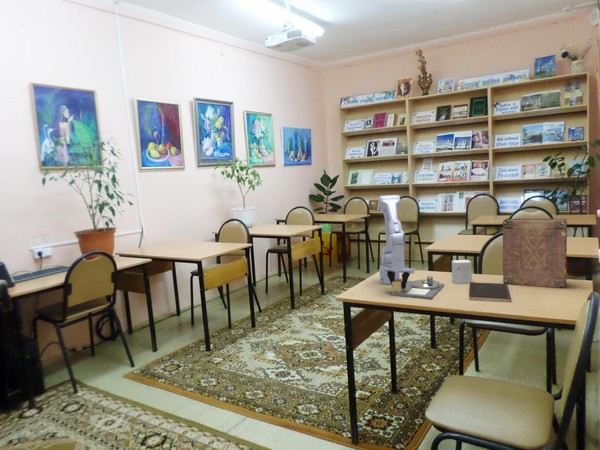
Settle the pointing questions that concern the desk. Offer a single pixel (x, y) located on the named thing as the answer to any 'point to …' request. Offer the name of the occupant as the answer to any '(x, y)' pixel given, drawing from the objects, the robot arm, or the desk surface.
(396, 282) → the link block
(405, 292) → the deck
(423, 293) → the pad
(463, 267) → the small box
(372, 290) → the desk surface
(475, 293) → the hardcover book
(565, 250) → the book
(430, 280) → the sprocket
